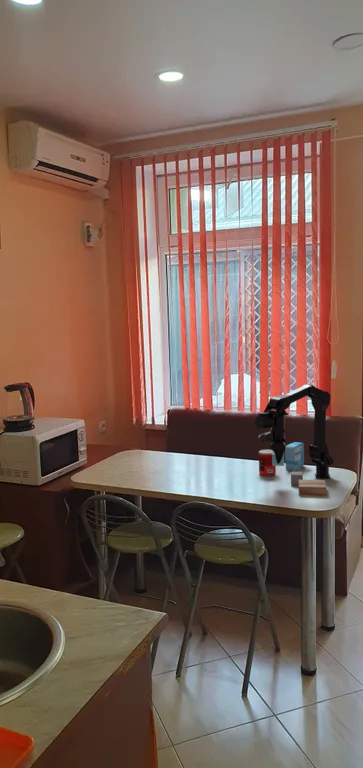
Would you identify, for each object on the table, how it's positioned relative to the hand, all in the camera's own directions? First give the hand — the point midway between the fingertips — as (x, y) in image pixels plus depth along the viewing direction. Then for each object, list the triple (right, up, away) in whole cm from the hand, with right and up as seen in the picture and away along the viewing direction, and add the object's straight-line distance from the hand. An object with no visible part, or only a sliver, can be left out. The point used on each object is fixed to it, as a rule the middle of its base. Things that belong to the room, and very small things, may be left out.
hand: (278, 461), depth 252 cm
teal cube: (0, -1, 0) cm, 1 cm away
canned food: (-2, -9, +22) cm, 23 cm away
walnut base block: (+13, -12, -8) cm, 19 cm away
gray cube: (+9, -10, +4) cm, 14 cm away
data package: (+13, -8, +31) cm, 35 cm away
